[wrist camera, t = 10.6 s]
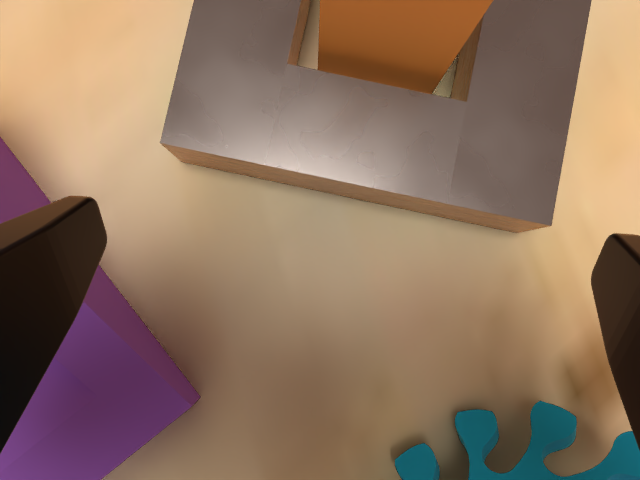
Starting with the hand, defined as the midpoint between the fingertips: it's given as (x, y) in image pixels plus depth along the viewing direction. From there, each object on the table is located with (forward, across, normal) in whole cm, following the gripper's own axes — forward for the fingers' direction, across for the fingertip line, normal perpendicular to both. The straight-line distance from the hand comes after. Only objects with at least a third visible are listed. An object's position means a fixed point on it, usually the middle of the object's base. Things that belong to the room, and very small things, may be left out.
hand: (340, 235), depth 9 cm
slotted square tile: (+12, -1, 0) cm, 12 cm away
